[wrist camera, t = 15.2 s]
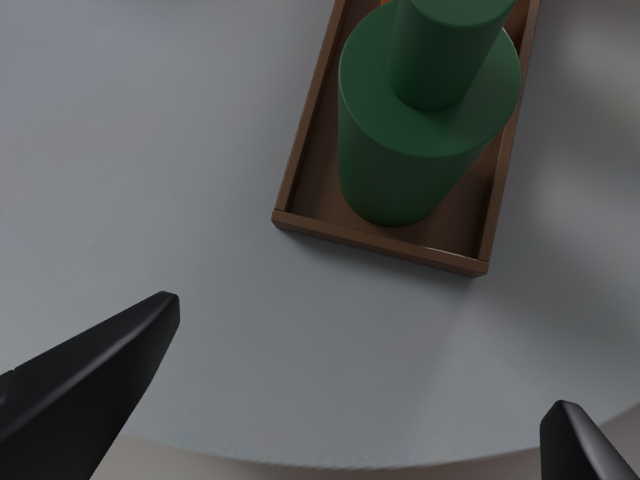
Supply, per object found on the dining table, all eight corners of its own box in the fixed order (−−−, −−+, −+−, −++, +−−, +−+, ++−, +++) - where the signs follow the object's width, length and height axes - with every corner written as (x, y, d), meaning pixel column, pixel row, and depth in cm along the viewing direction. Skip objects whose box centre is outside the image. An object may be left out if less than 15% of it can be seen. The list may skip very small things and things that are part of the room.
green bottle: (422, 245, 23) (542, 130, 9) (321, 201, 24) (295, 35, 10) (463, 148, 24) (627, -83, 10) (364, 109, 25) (395, -157, 11)
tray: (474, 278, 23) (487, 274, 21) (275, 228, 24) (270, 219, 22) (559, -140, 28) (575, -175, 26) (390, -167, 29) (394, -202, 27)
